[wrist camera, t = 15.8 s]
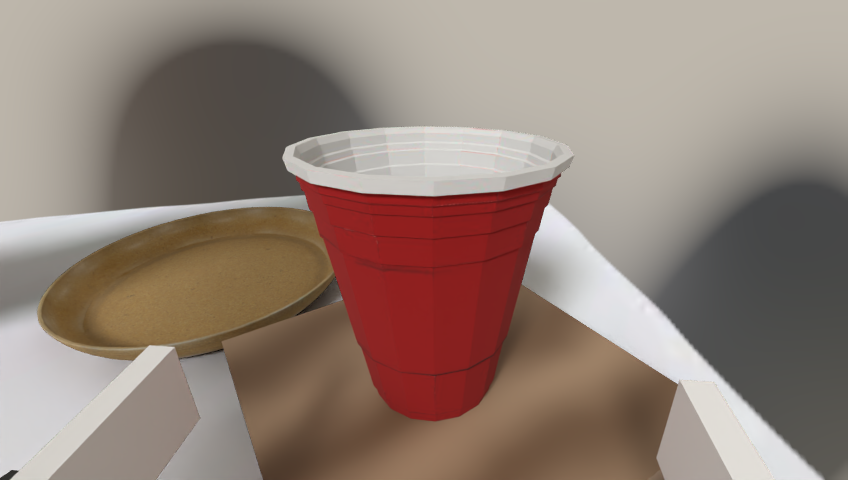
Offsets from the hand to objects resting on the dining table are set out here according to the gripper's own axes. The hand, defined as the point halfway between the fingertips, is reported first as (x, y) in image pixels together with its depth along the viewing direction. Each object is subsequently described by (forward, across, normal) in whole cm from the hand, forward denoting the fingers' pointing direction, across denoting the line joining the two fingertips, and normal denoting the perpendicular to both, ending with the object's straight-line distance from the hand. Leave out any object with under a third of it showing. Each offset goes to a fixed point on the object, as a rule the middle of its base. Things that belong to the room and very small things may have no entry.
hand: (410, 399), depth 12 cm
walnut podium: (+8, 0, -12) cm, 14 cm away
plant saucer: (+23, -22, -12) cm, 34 cm away
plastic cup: (+8, 0, -7) cm, 11 cm away
